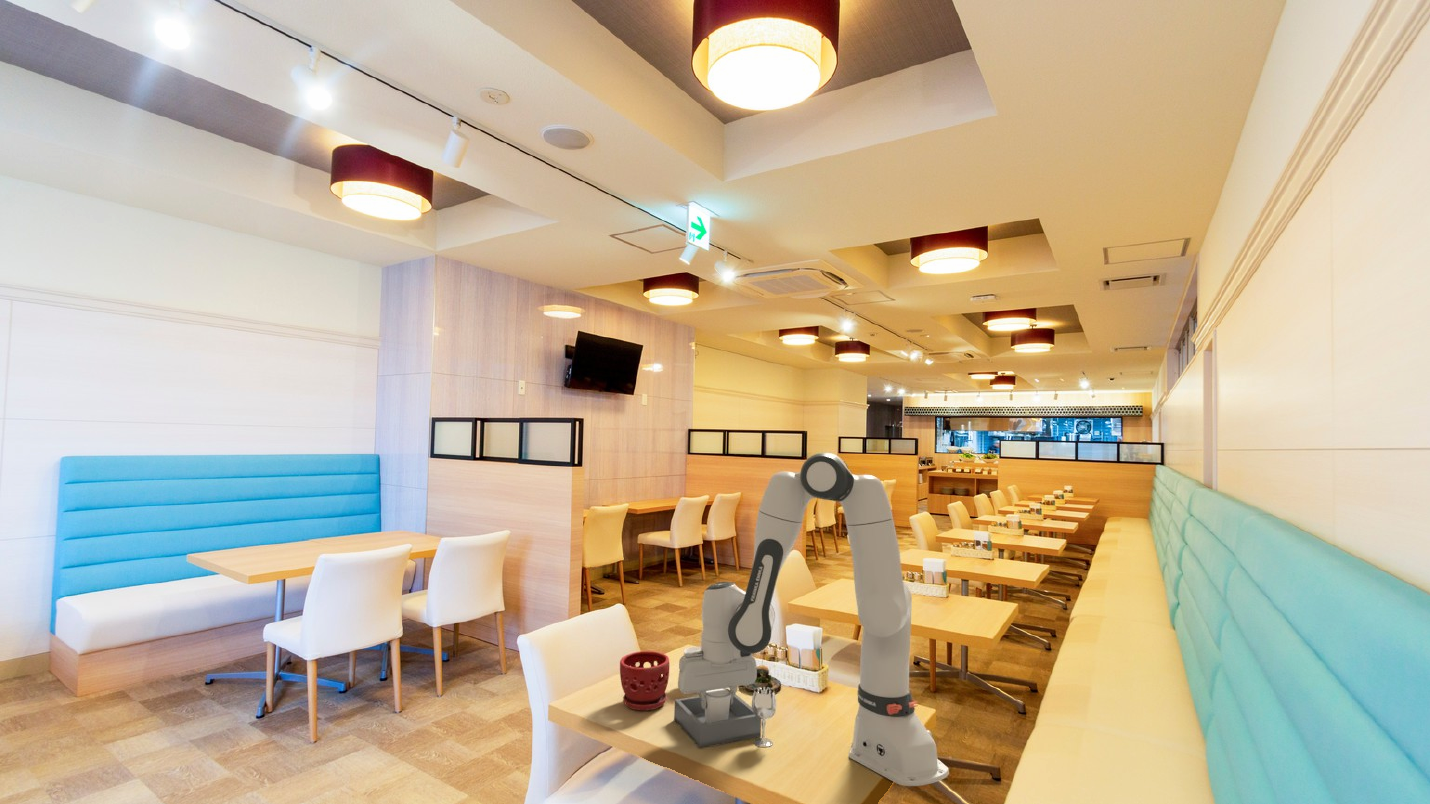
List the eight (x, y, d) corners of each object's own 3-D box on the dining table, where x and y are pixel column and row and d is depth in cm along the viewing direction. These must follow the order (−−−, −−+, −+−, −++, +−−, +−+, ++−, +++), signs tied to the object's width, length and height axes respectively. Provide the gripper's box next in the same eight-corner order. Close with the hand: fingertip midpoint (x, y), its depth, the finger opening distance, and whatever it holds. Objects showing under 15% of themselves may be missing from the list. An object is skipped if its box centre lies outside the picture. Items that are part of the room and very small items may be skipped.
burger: (731, 689, 185) (732, 662, 186) (753, 677, 195) (753, 651, 195) (768, 699, 178) (768, 672, 179) (788, 686, 188) (789, 660, 188)
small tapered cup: (728, 728, 156) (729, 698, 156) (700, 725, 157) (701, 695, 157) (731, 715, 163) (732, 687, 163) (705, 713, 164) (705, 684, 164)
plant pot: (632, 691, 181) (634, 647, 182) (676, 699, 176) (677, 654, 177) (609, 709, 169) (611, 662, 169) (655, 718, 164) (656, 670, 165)
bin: (760, 736, 156) (761, 715, 156) (699, 748, 149) (700, 726, 149) (730, 710, 170) (731, 690, 170) (674, 719, 163) (674, 699, 164)
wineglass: (768, 750, 149) (769, 697, 149) (746, 744, 152) (747, 691, 152) (779, 741, 154) (780, 689, 154) (758, 734, 157) (759, 684, 157)
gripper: (684, 658, 153) (682, 717, 153) (760, 648, 162) (759, 704, 161) (674, 649, 159) (673, 707, 158) (748, 640, 168) (747, 695, 167)
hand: (717, 706), depth 160 cm, fingers closed on small tapered cup, 5 cm apart
